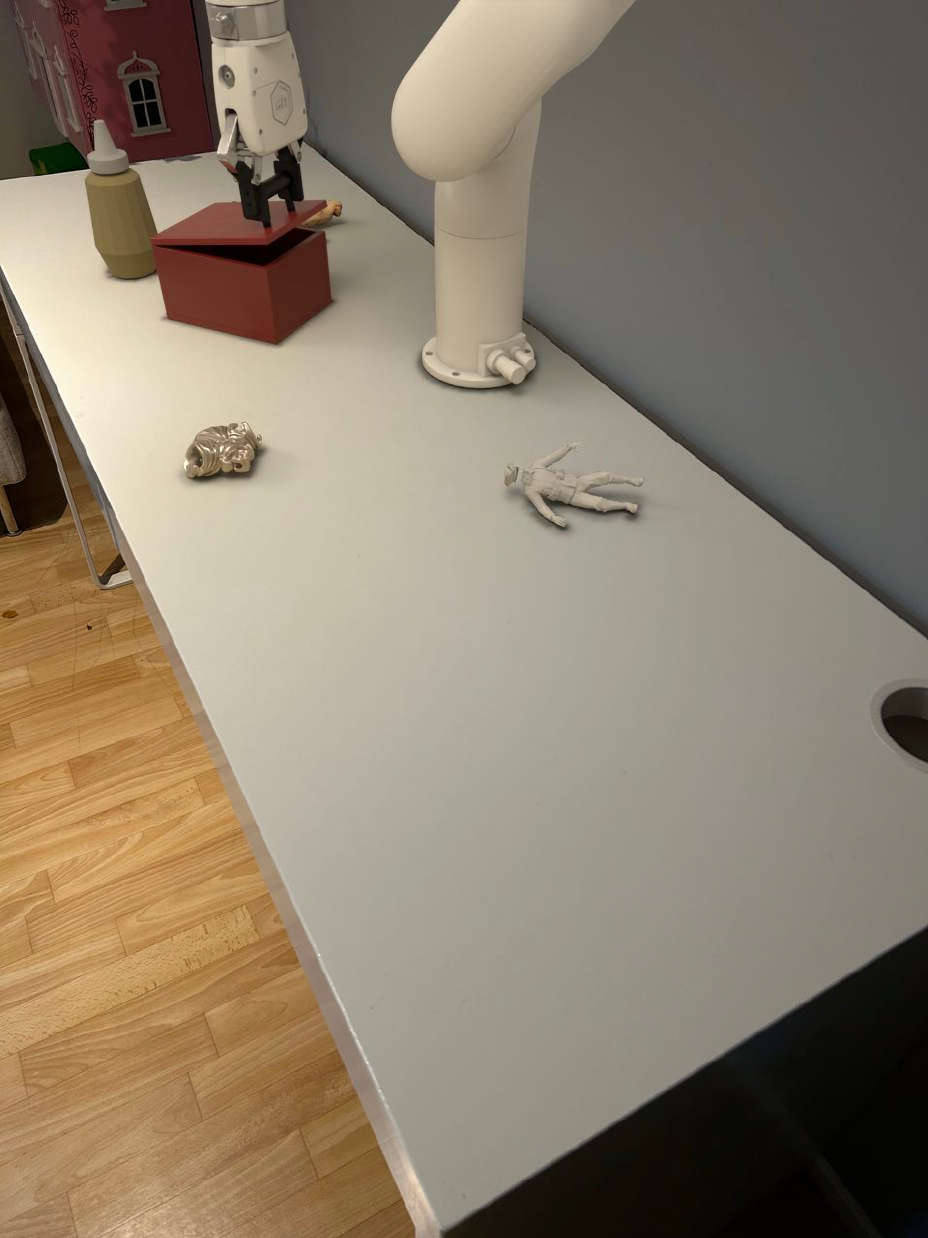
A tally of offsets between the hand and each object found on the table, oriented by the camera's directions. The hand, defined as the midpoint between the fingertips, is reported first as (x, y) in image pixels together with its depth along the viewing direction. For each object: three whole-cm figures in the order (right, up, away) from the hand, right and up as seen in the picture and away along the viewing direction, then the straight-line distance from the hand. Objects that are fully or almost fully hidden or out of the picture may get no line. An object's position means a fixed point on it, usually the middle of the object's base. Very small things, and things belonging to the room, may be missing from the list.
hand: (274, 207), depth 104 cm
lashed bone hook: (-4, +8, +28) cm, 29 cm away
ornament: (-2, -31, -14) cm, 34 cm away
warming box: (-5, -8, +11) cm, 14 cm away
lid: (-5, -1, +3) cm, 6 cm away
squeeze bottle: (-22, 0, +19) cm, 29 cm away
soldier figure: (+31, -35, -18) cm, 50 cm away
